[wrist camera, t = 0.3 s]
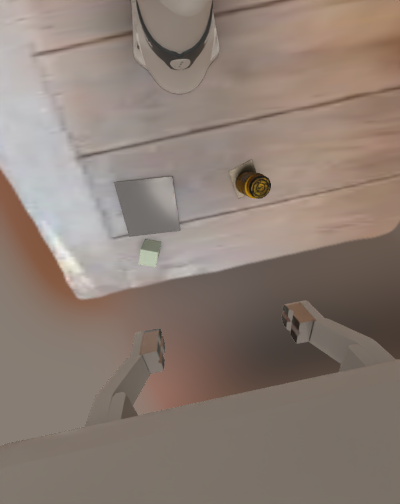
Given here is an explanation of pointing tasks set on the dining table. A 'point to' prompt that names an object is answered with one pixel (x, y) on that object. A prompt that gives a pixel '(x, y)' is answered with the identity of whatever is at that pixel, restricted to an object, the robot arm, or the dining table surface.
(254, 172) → the condiment
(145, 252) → the block
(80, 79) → the dining table surface
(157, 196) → the board
